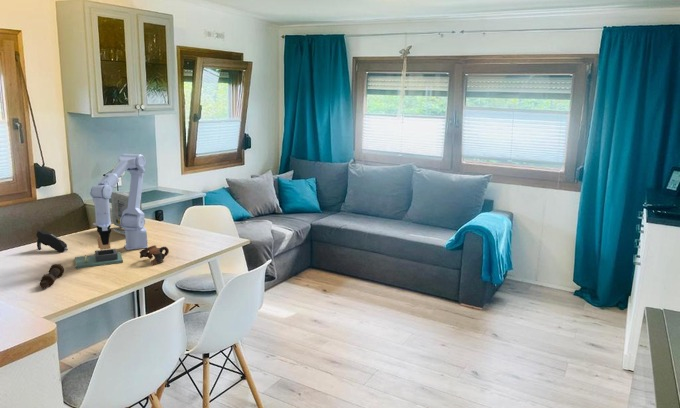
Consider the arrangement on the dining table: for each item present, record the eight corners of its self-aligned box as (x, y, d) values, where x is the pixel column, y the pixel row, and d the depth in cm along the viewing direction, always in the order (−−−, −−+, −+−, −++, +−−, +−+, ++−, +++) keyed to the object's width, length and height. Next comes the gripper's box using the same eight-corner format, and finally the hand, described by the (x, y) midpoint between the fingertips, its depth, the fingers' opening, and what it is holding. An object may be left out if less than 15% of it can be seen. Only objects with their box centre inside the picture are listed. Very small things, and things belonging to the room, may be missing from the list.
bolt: (42, 294, 188) (56, 278, 202) (54, 287, 188) (67, 272, 202) (32, 282, 186) (47, 267, 200) (44, 275, 186) (58, 260, 200)
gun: (59, 263, 232) (66, 246, 229) (30, 246, 233) (37, 228, 230) (64, 262, 235) (71, 244, 232) (35, 244, 236) (42, 226, 233)
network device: (147, 234, 262) (145, 196, 258) (131, 237, 255) (128, 199, 251) (124, 225, 278) (121, 189, 274) (108, 228, 272) (105, 192, 268)
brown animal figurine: (146, 268, 213) (138, 250, 214) (144, 271, 221) (136, 254, 222) (173, 256, 219) (165, 239, 220) (170, 260, 227) (162, 243, 228)
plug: (109, 246, 222) (108, 232, 221) (110, 248, 219) (109, 235, 218) (98, 247, 220) (97, 234, 219) (98, 249, 217) (97, 236, 216)
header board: (120, 254, 229) (119, 246, 229) (122, 262, 218) (122, 254, 217) (75, 259, 221) (74, 251, 220) (76, 268, 210) (75, 260, 209)
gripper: (91, 210, 221) (94, 239, 224) (93, 217, 209) (95, 248, 211) (109, 208, 224) (111, 238, 227) (111, 215, 212) (114, 246, 215)
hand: (105, 243), depth 219 cm, fingers closed on plug, 4 cm apart
